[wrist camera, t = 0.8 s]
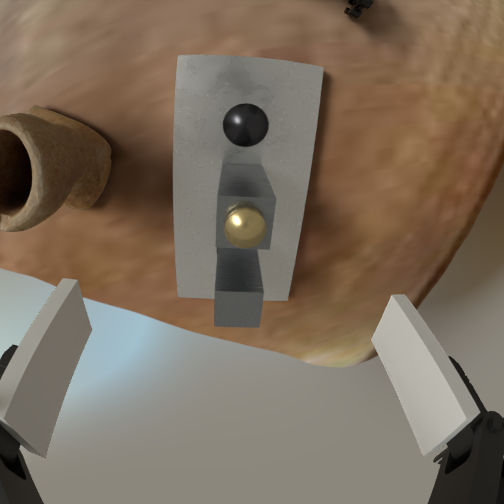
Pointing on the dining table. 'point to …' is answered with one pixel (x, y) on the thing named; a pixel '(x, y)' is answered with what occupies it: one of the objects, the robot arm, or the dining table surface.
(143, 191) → the dining table surface
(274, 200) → the block
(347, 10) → the valve
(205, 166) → the grey base with knobs
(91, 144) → the stone cup
